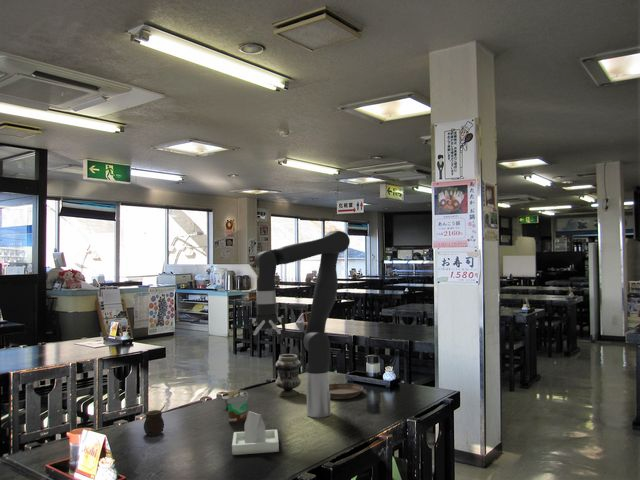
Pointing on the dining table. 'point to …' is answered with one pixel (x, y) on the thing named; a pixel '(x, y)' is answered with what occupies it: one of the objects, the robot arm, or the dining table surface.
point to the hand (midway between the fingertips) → (267, 344)
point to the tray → (249, 448)
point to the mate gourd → (154, 422)
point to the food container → (237, 407)
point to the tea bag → (254, 428)
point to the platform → (229, 397)
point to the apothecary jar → (288, 374)
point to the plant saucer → (344, 390)
